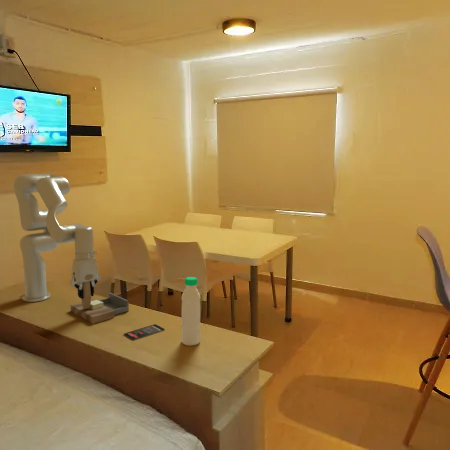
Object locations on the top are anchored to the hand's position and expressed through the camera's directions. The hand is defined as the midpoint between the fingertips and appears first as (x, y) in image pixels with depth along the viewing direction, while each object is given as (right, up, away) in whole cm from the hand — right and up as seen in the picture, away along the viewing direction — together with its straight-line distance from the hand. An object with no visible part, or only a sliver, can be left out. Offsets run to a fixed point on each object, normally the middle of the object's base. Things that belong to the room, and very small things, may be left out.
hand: (86, 296), depth 178 cm
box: (+8, -8, +10) cm, 15 cm away
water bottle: (+47, -14, -23) cm, 54 cm away
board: (+2, -8, +3) cm, 9 cm away
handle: (0, -5, +1) cm, 5 cm away
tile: (+3, -5, +4) cm, 7 cm away
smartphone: (+28, -12, -15) cm, 34 cm away
